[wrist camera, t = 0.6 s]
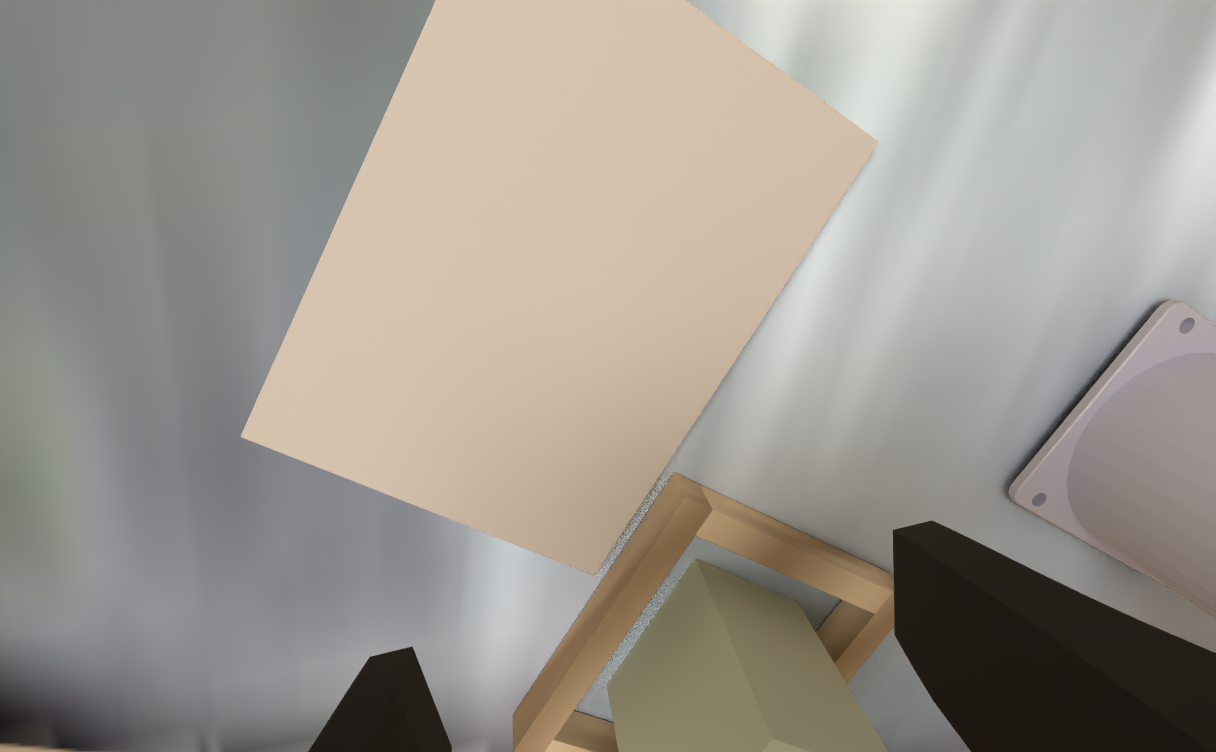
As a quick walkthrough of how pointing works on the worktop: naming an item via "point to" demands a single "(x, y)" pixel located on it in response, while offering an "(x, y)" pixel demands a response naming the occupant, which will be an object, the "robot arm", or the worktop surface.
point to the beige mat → (552, 263)
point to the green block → (733, 677)
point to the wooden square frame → (585, 745)
